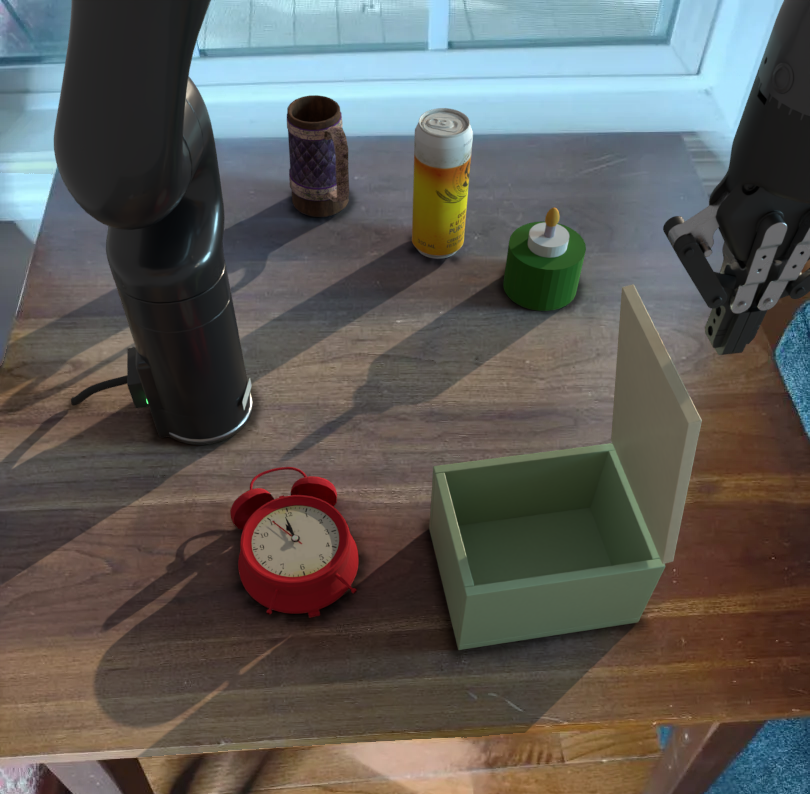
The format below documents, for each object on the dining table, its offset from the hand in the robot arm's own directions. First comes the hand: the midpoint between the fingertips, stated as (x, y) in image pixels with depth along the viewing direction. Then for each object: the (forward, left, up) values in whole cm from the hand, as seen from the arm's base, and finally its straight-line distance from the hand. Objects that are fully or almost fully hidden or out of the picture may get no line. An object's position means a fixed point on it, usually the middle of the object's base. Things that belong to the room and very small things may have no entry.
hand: (723, 345), depth 56 cm
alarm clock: (-29, +6, -25) cm, 39 cm away
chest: (-9, 0, -25) cm, 27 cm away
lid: (-4, 0, -8) cm, 9 cm away
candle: (+2, +37, -25) cm, 45 cm away
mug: (-20, +55, -25) cm, 64 cm away
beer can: (-8, +46, -25) cm, 53 cm away
